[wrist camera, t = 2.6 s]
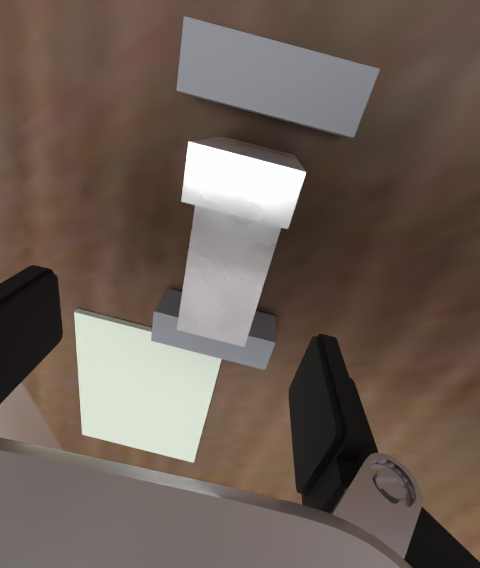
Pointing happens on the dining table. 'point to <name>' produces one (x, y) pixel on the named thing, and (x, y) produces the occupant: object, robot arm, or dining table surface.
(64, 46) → the dining table surface
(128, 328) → the mat
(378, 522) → the robot arm
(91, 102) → the dining table surface
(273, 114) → the vise jaws
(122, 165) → the dining table surface
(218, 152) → the white pedestal stand
